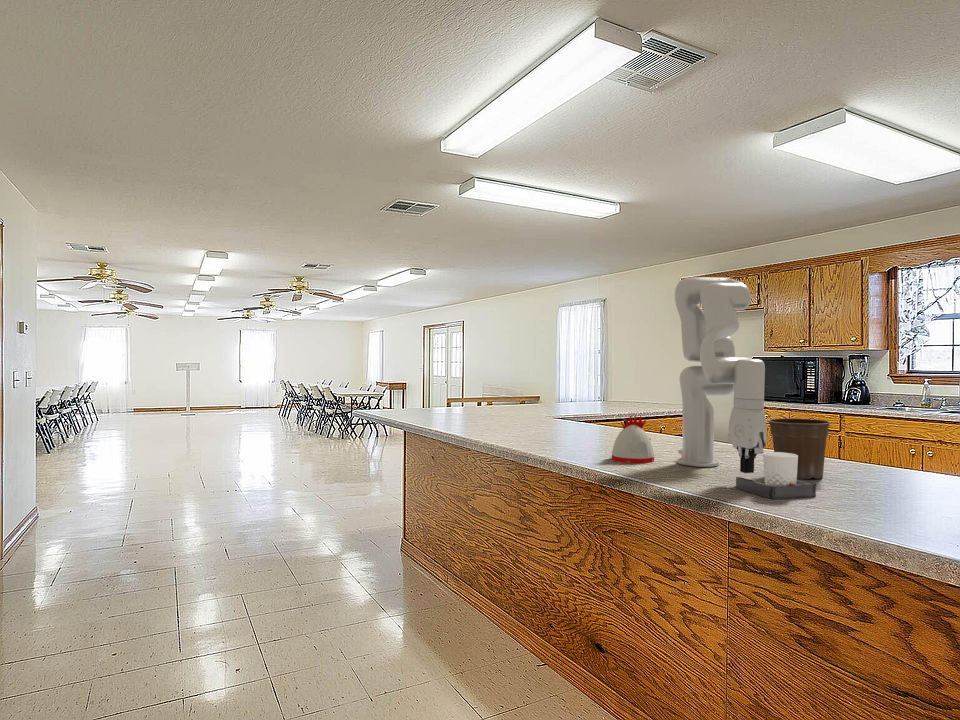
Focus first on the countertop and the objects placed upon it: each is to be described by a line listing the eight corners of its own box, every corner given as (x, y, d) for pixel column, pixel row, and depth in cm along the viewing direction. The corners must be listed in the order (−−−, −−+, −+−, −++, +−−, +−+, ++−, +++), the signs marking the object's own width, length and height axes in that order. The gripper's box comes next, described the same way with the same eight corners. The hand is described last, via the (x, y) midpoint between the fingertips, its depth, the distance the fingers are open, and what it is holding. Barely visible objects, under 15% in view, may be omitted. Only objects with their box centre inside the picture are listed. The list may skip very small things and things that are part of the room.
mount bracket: (735, 488, 162) (736, 475, 162) (776, 485, 166) (777, 473, 166) (772, 499, 150) (772, 485, 150) (816, 496, 154) (816, 482, 154)
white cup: (778, 498, 151) (778, 457, 151) (756, 491, 159) (756, 452, 159) (805, 496, 154) (805, 456, 154) (781, 489, 161) (782, 451, 161)
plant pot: (766, 478, 177) (766, 421, 177) (769, 469, 191) (769, 416, 191) (831, 483, 169) (831, 424, 169) (829, 474, 184) (829, 419, 184)
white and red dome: (659, 463, 201) (659, 417, 201) (616, 463, 201) (616, 417, 201) (648, 457, 215) (648, 413, 215) (608, 456, 215) (608, 413, 215)
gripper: (718, 402, 174) (717, 467, 174) (756, 408, 159) (754, 479, 160) (741, 401, 176) (739, 465, 176) (780, 407, 161) (778, 477, 162)
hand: (746, 472), depth 168 cm, fingers closed
